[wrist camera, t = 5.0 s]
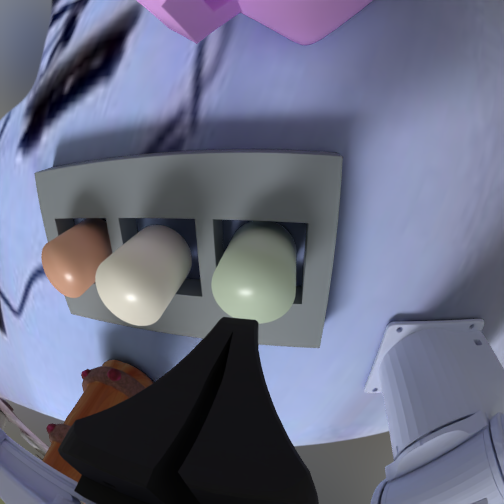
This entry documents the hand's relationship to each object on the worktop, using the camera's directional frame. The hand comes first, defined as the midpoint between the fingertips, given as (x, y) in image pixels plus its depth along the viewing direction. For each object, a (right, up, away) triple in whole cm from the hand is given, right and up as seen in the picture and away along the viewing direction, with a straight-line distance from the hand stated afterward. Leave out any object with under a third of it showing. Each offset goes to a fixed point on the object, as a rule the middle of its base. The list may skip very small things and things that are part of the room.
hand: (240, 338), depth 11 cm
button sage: (+1, +3, +7) cm, 8 cm away
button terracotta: (-11, +4, +8) cm, 14 cm away
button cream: (-5, +3, +6) cm, 9 cm away
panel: (-5, +4, +8) cm, 10 cm away
